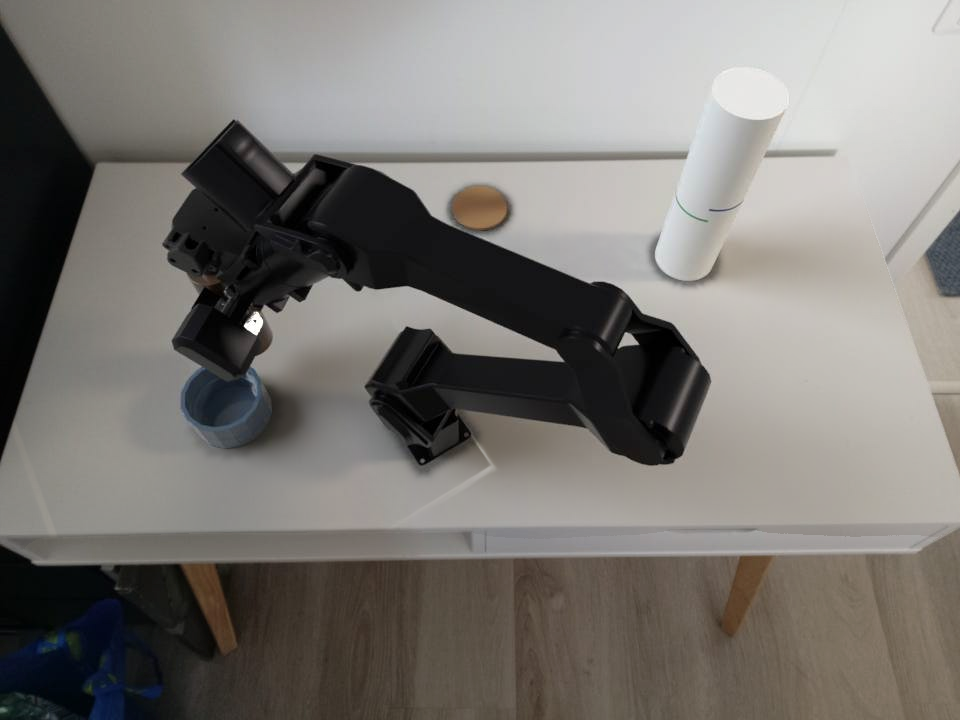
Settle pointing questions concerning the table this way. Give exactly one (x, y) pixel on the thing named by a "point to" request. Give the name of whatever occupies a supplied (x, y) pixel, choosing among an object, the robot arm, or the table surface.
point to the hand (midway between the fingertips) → (218, 298)
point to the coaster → (479, 208)
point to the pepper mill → (218, 288)
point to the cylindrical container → (720, 169)
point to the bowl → (226, 407)
